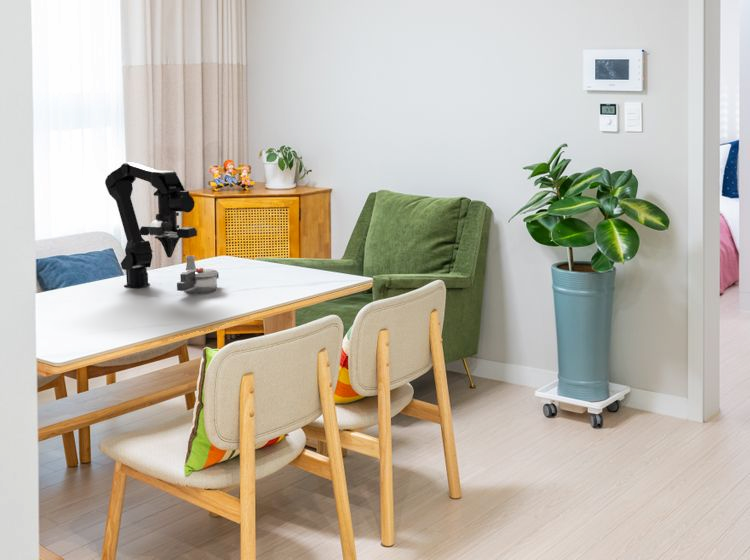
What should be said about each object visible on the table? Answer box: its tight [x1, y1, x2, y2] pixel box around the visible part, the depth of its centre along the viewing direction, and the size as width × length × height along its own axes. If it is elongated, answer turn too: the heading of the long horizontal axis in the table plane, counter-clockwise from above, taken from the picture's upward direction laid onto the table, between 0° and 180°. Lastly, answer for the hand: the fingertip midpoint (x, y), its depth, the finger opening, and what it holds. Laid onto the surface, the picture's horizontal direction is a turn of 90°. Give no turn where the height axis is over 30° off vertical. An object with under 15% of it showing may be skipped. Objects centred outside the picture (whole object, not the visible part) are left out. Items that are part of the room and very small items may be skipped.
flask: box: [184, 255, 197, 271], centre depth 328 cm, size 7×7×10 cm
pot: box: [176, 271, 220, 295], centre depth 317 cm, size 20×11×5 cm, turn 158°
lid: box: [179, 267, 218, 282], centre depth 315 cm, size 18×12×2 cm, turn 164°
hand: (169, 257), depth 313 cm, fingers closed
